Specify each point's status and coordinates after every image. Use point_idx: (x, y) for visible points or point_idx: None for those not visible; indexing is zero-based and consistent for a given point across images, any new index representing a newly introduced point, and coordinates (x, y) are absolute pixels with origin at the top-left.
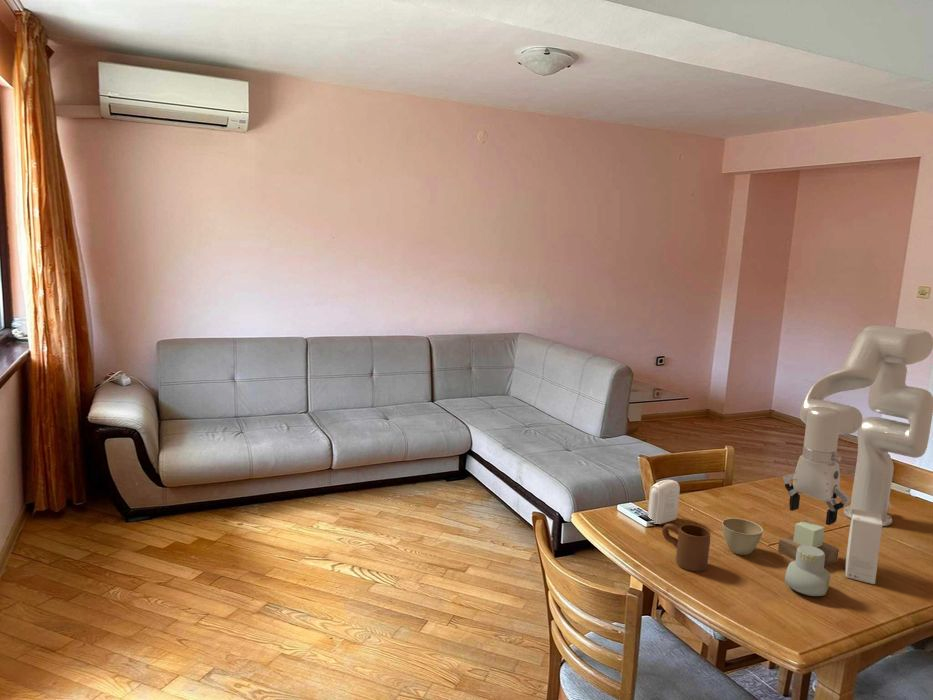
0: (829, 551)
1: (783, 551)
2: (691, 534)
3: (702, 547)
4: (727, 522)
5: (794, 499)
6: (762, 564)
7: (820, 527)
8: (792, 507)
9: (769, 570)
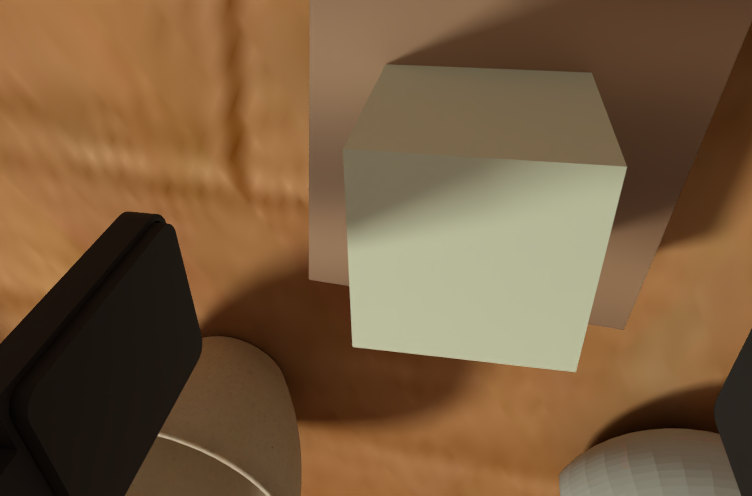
0: (696, 151)
1: None
2: None
3: None
4: None
5: (111, 490)
6: (391, 412)
7: (584, 215)
8: (181, 389)
9: (448, 438)
